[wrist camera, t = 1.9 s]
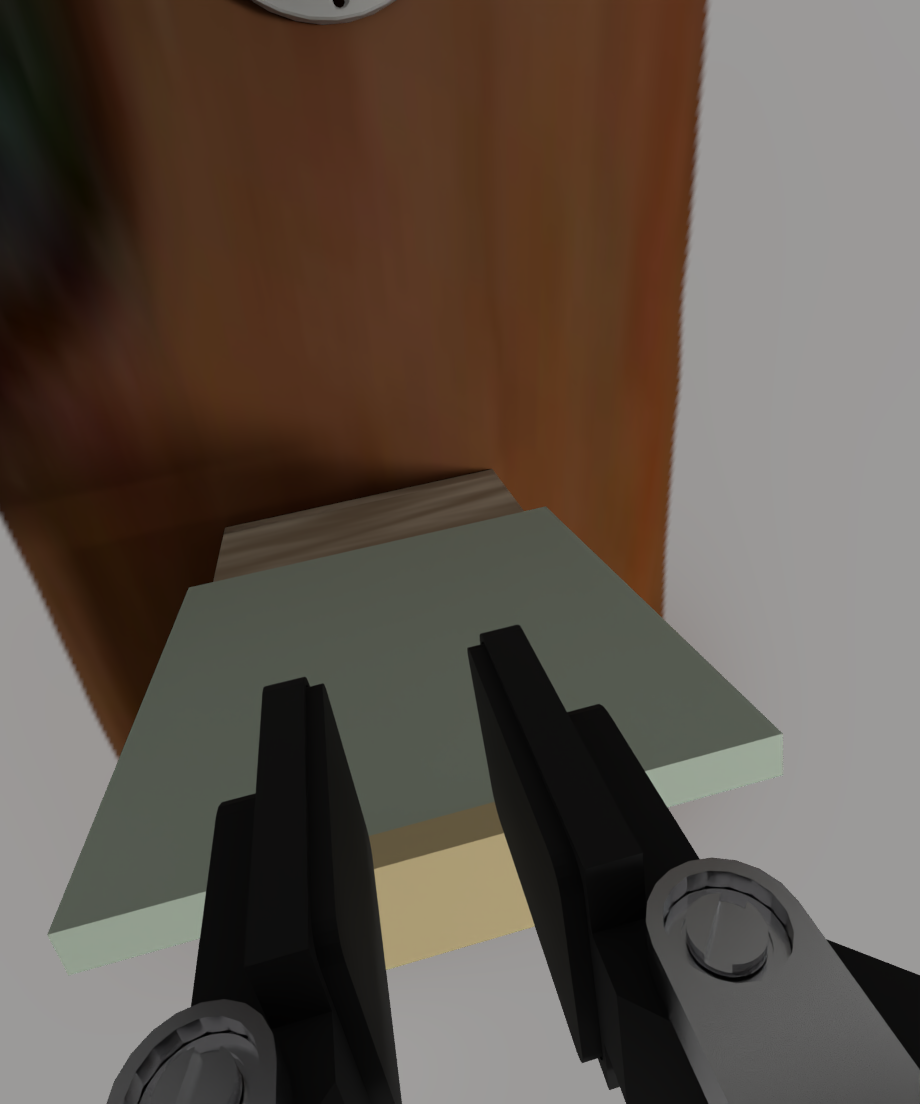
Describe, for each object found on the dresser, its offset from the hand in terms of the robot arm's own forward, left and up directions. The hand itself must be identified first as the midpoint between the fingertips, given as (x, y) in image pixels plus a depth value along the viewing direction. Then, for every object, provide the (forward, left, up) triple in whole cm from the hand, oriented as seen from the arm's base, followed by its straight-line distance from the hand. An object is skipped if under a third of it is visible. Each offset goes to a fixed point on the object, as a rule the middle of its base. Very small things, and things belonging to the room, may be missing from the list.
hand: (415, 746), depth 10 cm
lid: (+9, 0, -13) cm, 16 cm away
